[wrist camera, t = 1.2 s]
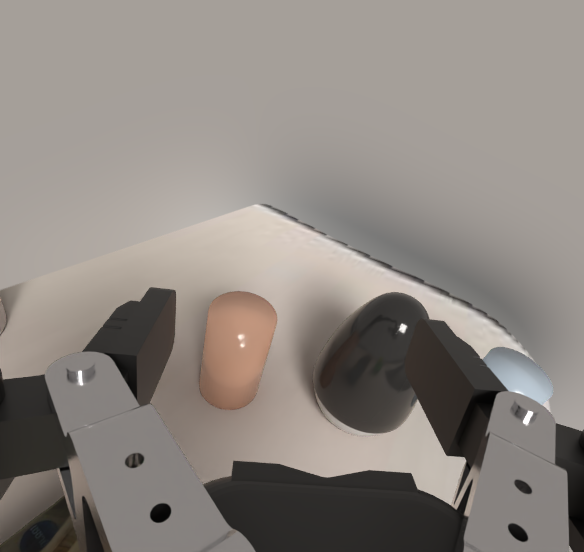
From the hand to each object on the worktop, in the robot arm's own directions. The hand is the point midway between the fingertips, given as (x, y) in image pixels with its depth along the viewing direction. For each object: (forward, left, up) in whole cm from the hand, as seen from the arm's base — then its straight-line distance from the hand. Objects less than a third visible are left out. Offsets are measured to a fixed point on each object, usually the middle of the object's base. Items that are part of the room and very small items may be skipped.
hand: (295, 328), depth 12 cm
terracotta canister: (-13, +8, -24) cm, 29 cm away
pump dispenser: (-5, +18, -25) cm, 31 cm away
